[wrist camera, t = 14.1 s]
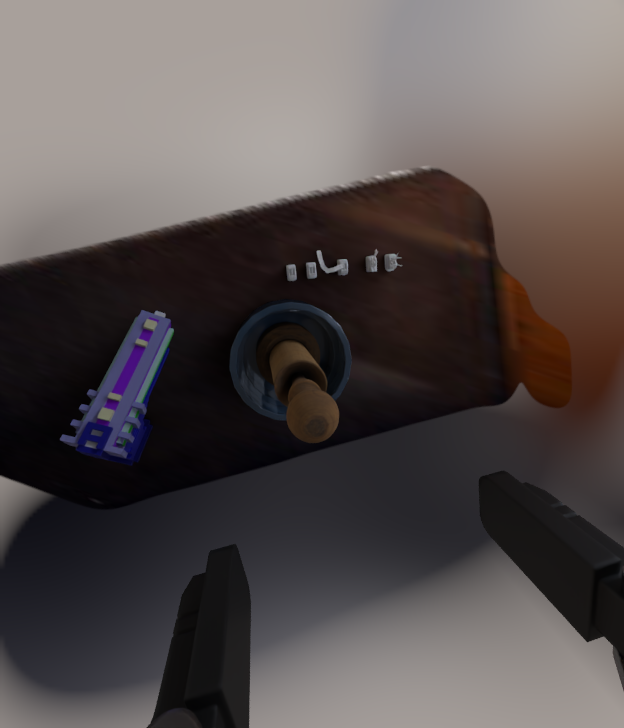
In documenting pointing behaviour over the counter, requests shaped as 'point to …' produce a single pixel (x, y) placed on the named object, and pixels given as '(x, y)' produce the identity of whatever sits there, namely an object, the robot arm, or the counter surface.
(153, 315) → the toy gun
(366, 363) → the counter surface
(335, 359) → the blue bowl
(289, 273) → the figurines set
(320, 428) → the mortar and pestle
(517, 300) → the counter surface
